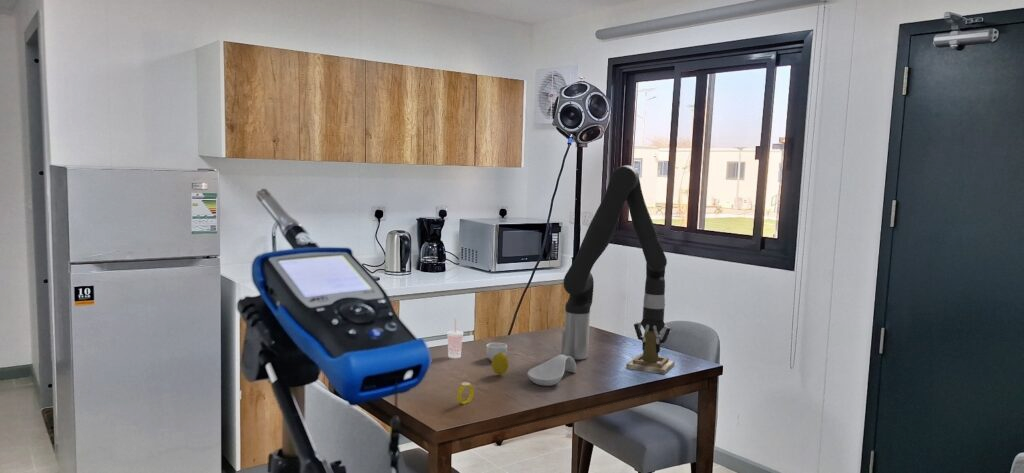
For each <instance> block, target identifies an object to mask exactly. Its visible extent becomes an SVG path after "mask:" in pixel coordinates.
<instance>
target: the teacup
mask: <svg viewBox="0 0 1024 473" xmlns="http://www.w3.org/2000/svg"><path fill="white" fill-rule="evenodd" d="M485 350H486V356H487V358H488V359H489V360H490V361H492V360H493V357H494V356H495V355H496V354H498V353H500V352H502V353H503V354H505V355H506V356H507V354H508V345H507V343H504V342H489V343H487V344H486V345H485Z"/></svg>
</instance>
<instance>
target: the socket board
mask: <svg viewBox="0 0 1024 473" xmlns="http://www.w3.org/2000/svg"><path fill="white" fill-rule="evenodd" d="M642 355H643V353H640V354H637V355H636V356H635V357H632V359H631V360H630V361H628V362H627V363H626V364H625V366H626V369H632V370H637V371H642V372H649V373H655V374H660V373H662V374H661V375H666V374H667V373H668V372H669V371H671V369H672V368H674V366H675V360H671V359H670V358H669V357H663V356H659V355H658V358H659V361H658V362H647V361H643V360H642ZM666 372H667V373H666ZM665 373H666V374H665Z"/></svg>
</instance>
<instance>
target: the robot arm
mask: <svg viewBox="0 0 1024 473" xmlns="http://www.w3.org/2000/svg"><path fill="white" fill-rule="evenodd" d="M625 202H626V203H627V207H628V211H629V215H630V219H631V223H632V228H633V231H634V232H635V235H636V238H637V241H638V243H639V246H640V247H641V249H642V252H643V255H644V256H643V257H644V260H645V272H646V274H645V282H644V283H645V285H644V295H643V296H644V297H643V306H642V319H641V321H640V322H636V323H634V324H633V327H634V331H635V334H636V337H637V339H638V340H639V341H642V346H641V347H642V349H641V350H642V351H643V350H644V346H645V342H646V338H645V333H646V332H648V331H654V333H655V334H657V335H656V338H657V339H656V354H657V353H658V354H659V353H660V352H661V344H664V343H665V342H666V341H667V339H668V338H669V336H670V334H671V331H672V327H671V326H667V325H666V324H665V321H664V320H665V306H666V304H665V303H666V297H665V292H666V280H665V275H666V267H667V264H668V261H667V260H668V259H667V257H666V254H665V252H664V250H663V249H664V248H662V246H661V243H660V239H659V236H658V233H657V231H656V228H655V224H654V222H653V220H652V217H651V215H650V213H649V210H648V207H647V204H646V202H645V197H644V194H643V191H642V186H641V181H640V175H639V172H638V170H637V169H636V168H635V167H634V166H632V165H627V164H626V165H621V166H618V167H616V168H615V169H614V170H613V171H612V173H611V174H610V179H609V181H608V184H607V188H606V191H605V193H604V196H603V198H602V201H601V203H599V206H598V208H597V210H596V211H595V214H594V215H593V218H592V220H591V221H590V224H589V225H588V227H587V230H586V233H585V235H584V237H583V240H582V242H581V245H580V247H579V249H578V252H577V254H576V255H575V258H574V260H573V262H572V264H571V265H570V267H569V269H568V270H567V271H566V273H565V275H564V278H563V287H564V290H565V292H566V293H567V294H569V297H568V300H567V302H566V303H565V308H564V309H565V310H564V311H565V312H564V329H563V331H562V332H561V333H562V334H561V353H560V355H565V356H570V357H572V358H573V359H574V360H585V359H588V357H589V340H590V338H589V336H590V320H591V319H590V318H591V317H590V315H591V306H592V304H593V297H594V276H593V274H592V272H591V271H592V269H593V266H594V265H595V263H596V262H597V260H599V258H600V257H601V255H603V253H604V251H606V249H607V248H608V246H609V244H610V242H611V240H612V239H613V236H614V235H615V232H616V229H617V226H618V223H619V219H620V215H621V211H622V208H623V206H624V204H625ZM641 328H643V330H644V332H642V329H641ZM663 329H664V330H663ZM661 331H664V334H663V337H661V336H662V335H661ZM658 333H659V335H658Z"/></svg>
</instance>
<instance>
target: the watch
mask: <svg viewBox="0 0 1024 473" xmlns="http://www.w3.org/2000/svg"><path fill="white" fill-rule="evenodd" d="M465 388H469V394H468V398H467V399H466V400H464V401H463V400H462V394H463V392H464V390H465ZM474 390H475V389H474V387H473V385H472V384H471V383H470V382H467V381H464V382H461V384H460V387H459V388H458V391H457V396H456V398H457V402H458V403H459V404H462V405H467V404H469V403H471V401H472V400H473V397H474V395H475V394H474V393H475V391H474Z"/></svg>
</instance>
